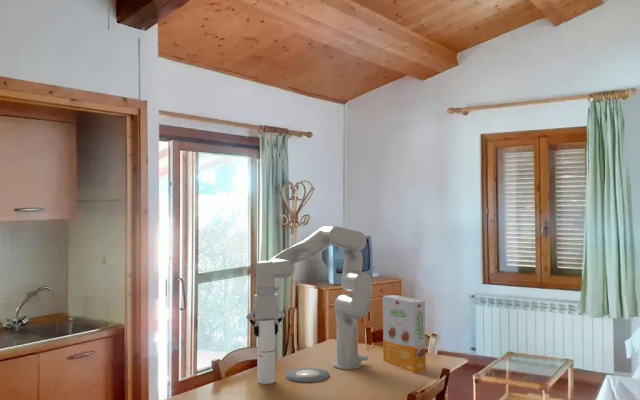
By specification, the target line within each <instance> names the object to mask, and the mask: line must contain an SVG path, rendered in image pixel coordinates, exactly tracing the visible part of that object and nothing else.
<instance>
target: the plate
mask: <svg viewBox="0 0 640 400" xmlns="http://www.w3.org/2000/svg"><path fill="white" fill-rule="evenodd" d="M329 377H330V373H329V371H327V370H325V369H323V368H322V369H321V368H315V367H301V368H295V369H291V370H289V371H287V372H286V373H285V378H286V379H287V380H288V381H291V382H294V383H303V384H304V383H305V384H309V383H319V382H324V381H326V380H328V379H329Z"/></svg>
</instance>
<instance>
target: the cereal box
mask: <svg viewBox="0 0 640 400" xmlns="http://www.w3.org/2000/svg"><path fill="white" fill-rule="evenodd" d="M382 325H383V326H382V328H383V329H382V333H383V335H382V336H383V337H382V339H383V342H382V344H383V346H382V347H383V351H382V352H383V358H382V359H383V360H382V361H383V362H384V361H385V363H387V362H388V363H387V364H389V363H390V364H389V365H392V364H393V365H392V366H394V365H395V367H397V366H398V367H397V368H399V367H401V368H400V369H402V368H403V369H402V370H404V369H405V370H404V371H407V370H408V371H407V372H409V371H411V372H410V373H412V372H413V373H412V374H417V373H416V372H419V373H423V372H422V371H425V372H426V371H427V370H426V369H427V368H426V366H427V365H426V359H427V358H426V301H425V300H421V299H416V298H412V297H411V298H410V297H406V296H401V295H397V294H388V295H387V294H386V295H383V296H382Z"/></svg>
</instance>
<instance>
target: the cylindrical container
mask: <svg viewBox="0 0 640 400" xmlns="http://www.w3.org/2000/svg"><path fill="white" fill-rule="evenodd" d="M258 327H259V336H256V343H257V344H256V345H257V346H256V349H257V351H256V352H257V353H256V354H257V355H256V356H257V357H256V358H257V360H256V361H257V365H256V368H257V371H256V372H257V374H256V375H257V379H256V380H257V383H258V384H261V385H262V384H263V385H265V384H266V385H267V384H268V385H270V384H273V383H275V382H276V361H275V360H276V340H275V339H276V337H275V336H276V335H275V319H268V320H260V321H259V323H258Z"/></svg>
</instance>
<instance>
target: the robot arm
mask: <svg viewBox="0 0 640 400" xmlns="http://www.w3.org/2000/svg"><path fill="white" fill-rule="evenodd" d="M366 245H367V237H366V235H365V234H364V233H363V232H361V231H358V230H353V229H348V228H345V227H342V226H335V225H325V226H322V227H319V229H317V230H316V231H314V232H313V233H312V234H311V235H308V237H306V238H304V240H302V241H300V242H298V243H296V244H294V245H292V246H290V247H288V248H286V249H284V250H282V251H281V252H278V254H276V255H275V256H273V257H272V258H271V259H270V260H260V261H257V262H256V265H255V267H256V269H255V270H256V271H255V273H256V274H255V275H256V279H255V280H256V283H255V284H256V290H255V291H256V292H255V293H256V294H254V296H253V301H252V302H253V304H252V310H251V312H249V313H248V314H247V315H246V316H245V317H246V320H247V321H248V322H249V323H250V324H252V326H253V334H254V335H255V336H256V337H257V336H259V327H258V323H259V321H260V320H268V319H275V336H277V335H278V332H279V325H280V323H281V322H282V321H283V319H284V317H285V316H286V313H284V312H283V311H282V310H280V308H279V301H278V294H277V293H276V292H279V287H276V278H277V279H288V278H291V277H292V276H293V275H294V273H295V271H296V267H295V265H294V264H296V263H300V262H305V261H308V260H312V259H314V258H315V257H316V256H318V255H319V254H320V253H321V252H324V250H326V249H328V247H330V246H331V247H332V246H334V247H337V248H339V250H340V251H341V253H342V256H343V266H342V273H341V279H340V280H341V281H340V285H341V288H342V289H343V290H344V291H345V292H349V293H352V294H344V293H343V294H340V295H339V296H337V297H336V299H335V300H334V303H333V305H334V306H333V308H334V313H335V321H336V322H335V323H336V361H334V362H333V363H332V364H333V365H332V366H333V367H334V368H336V369H340V370H356V369H360V368H361V367H362V362H363V361H368V360H369V357H368V355H359V330H358V329H359V324H358V320H363V319H364V318H366V317H367V315H368V314H369V310H370V306H371V305H370V304H371V300H372V294H373V293H372V292H373V280H372V278H371V276H370V274H369V273H367V272H363V262H364V258H363V254H362V252H361V251H362V250H363V249H364V248H365V247H366ZM252 318H253V319H252Z"/></svg>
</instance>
